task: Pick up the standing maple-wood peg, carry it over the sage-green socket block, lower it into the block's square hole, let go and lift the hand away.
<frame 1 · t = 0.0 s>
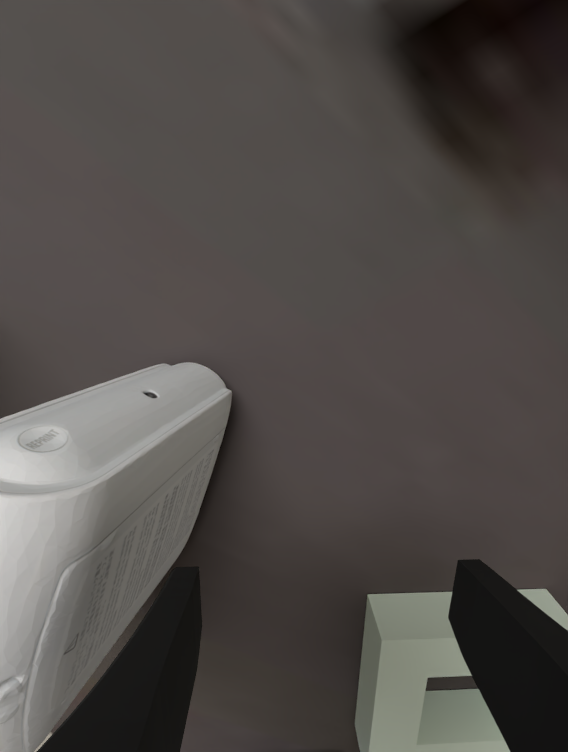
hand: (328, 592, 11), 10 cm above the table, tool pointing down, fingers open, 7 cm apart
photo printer: (179, 455, 21), on the table
socket: (445, 659, 26), on the table
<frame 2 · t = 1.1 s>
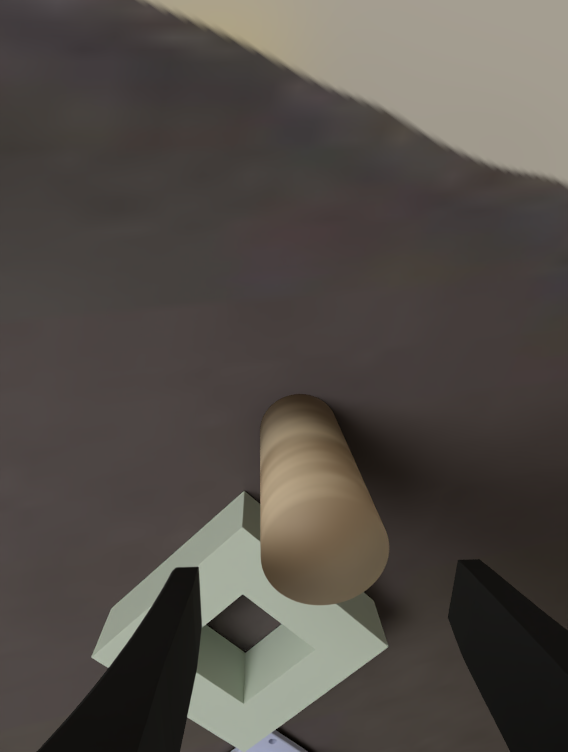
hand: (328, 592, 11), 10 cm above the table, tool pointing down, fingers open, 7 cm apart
peg: (298, 430, 21), on the table
socket: (245, 604, 24), on the table
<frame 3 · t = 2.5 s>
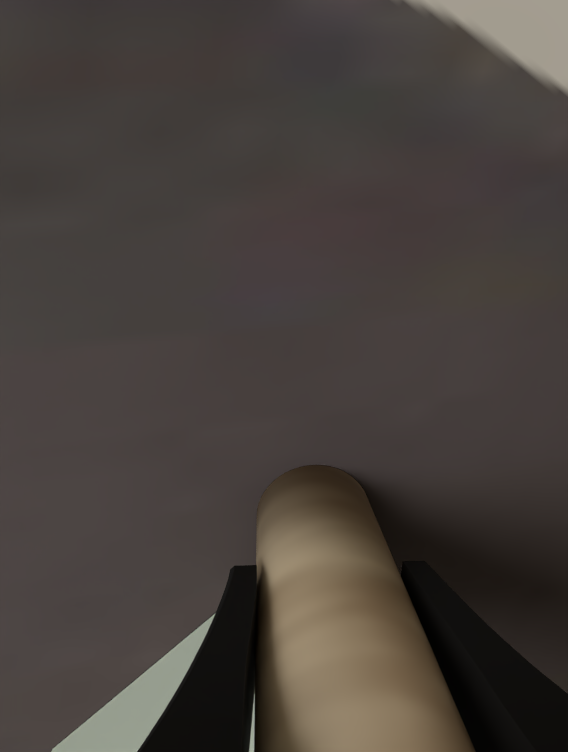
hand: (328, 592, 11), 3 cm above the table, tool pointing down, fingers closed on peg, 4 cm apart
peg: (313, 515, 15), on the table, touching gripper
socket: (237, 739, 18), on the table
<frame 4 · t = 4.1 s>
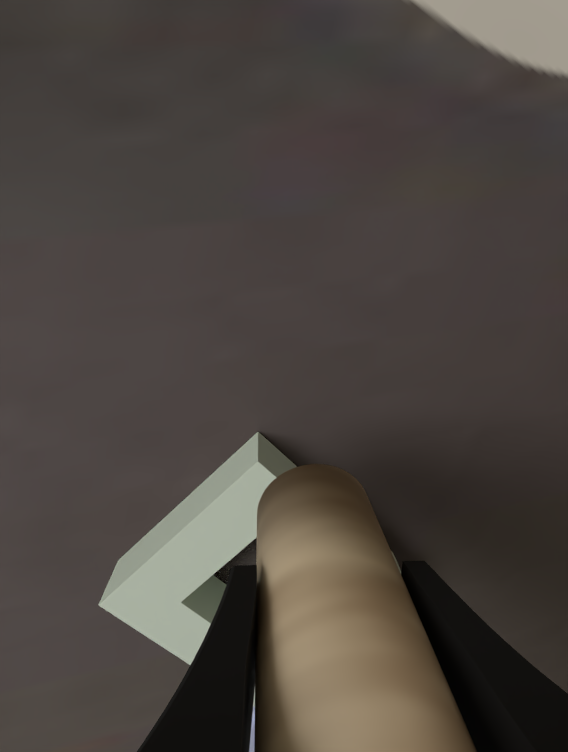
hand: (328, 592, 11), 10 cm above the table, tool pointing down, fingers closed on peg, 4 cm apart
peg: (313, 514, 15), point 7 cm above the table, touching gripper
socket: (258, 556, 23), on the table
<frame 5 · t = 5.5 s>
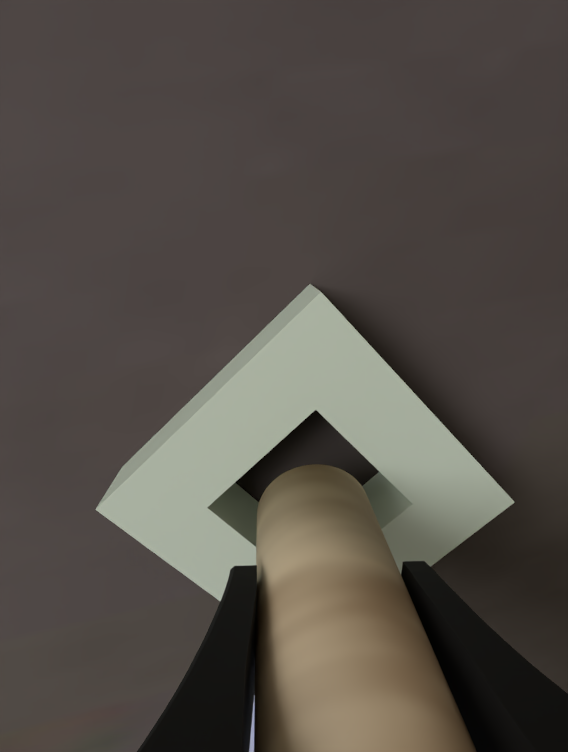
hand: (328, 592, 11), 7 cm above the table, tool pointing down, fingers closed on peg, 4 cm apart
peg: (313, 514, 15), point 4 cm above the table, touching gripper
socket: (303, 464, 18), on the table
when the fingers open (4 cm above the table, at t = 6.5 s): peg stays where it is, resting in socket.
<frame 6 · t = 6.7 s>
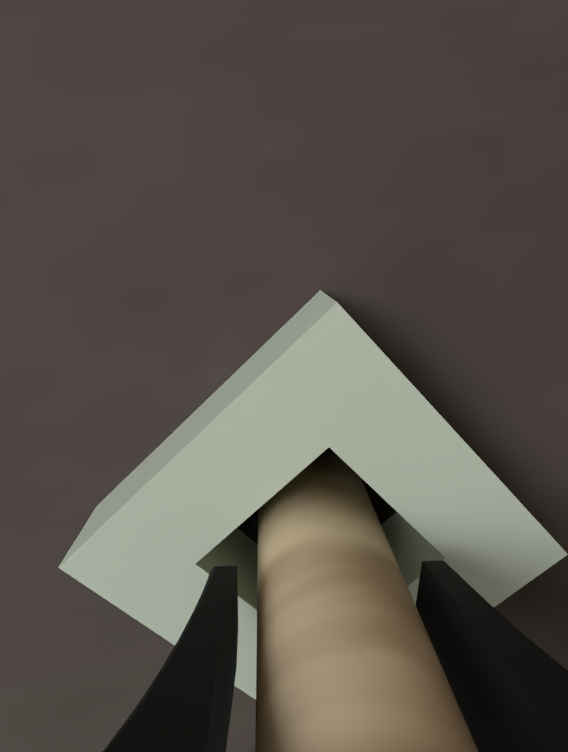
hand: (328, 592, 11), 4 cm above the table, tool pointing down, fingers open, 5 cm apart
peg: (311, 500, 15), resting in socket
socket: (310, 502, 15), on the table
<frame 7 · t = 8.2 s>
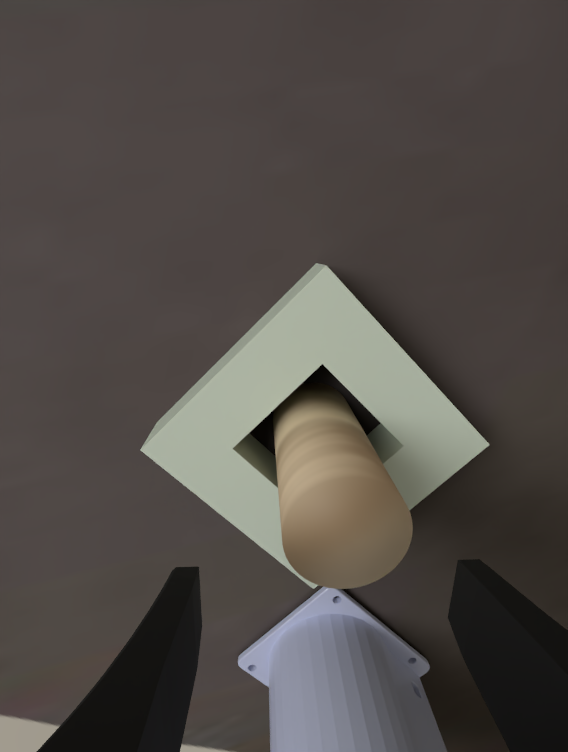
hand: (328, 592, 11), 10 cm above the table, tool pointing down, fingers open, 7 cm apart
peg: (311, 419, 21), resting in socket
socket: (311, 420, 21), on the table
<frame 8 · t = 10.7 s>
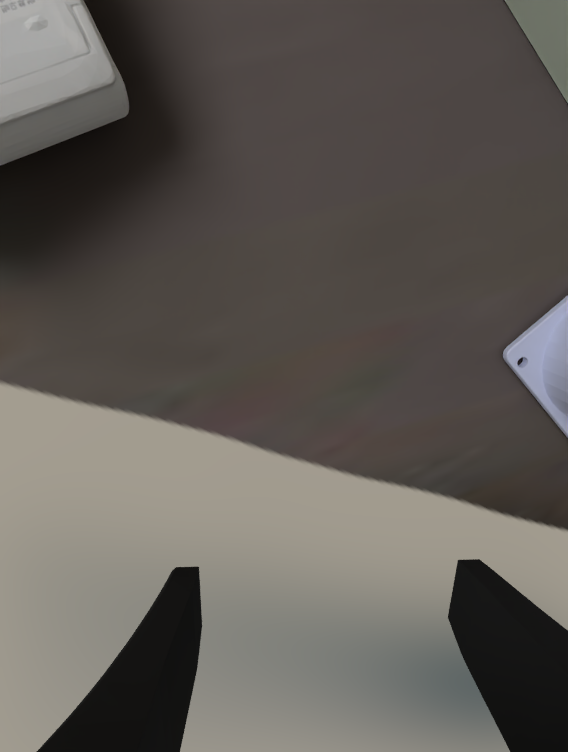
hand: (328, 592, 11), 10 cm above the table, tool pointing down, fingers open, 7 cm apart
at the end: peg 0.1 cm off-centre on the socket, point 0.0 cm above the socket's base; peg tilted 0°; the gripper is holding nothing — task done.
